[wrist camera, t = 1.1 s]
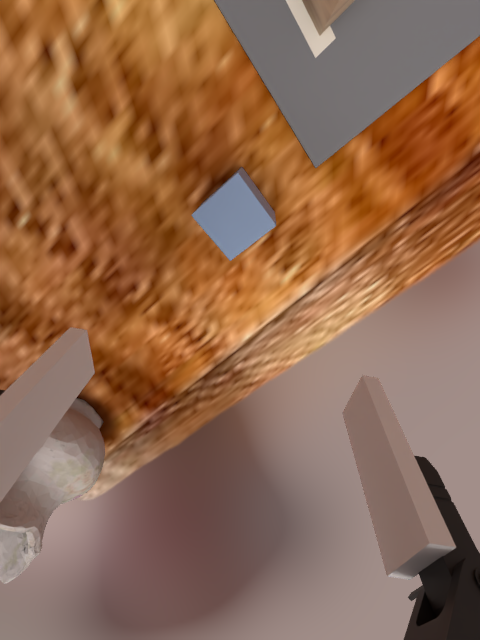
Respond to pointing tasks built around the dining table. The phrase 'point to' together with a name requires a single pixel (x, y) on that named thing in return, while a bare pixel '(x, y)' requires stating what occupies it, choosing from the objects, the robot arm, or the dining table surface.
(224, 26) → the dining table surface
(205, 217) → the blue cube
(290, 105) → the board
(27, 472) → the ceramic pitcher
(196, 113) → the dining table surface
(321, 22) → the maple block
